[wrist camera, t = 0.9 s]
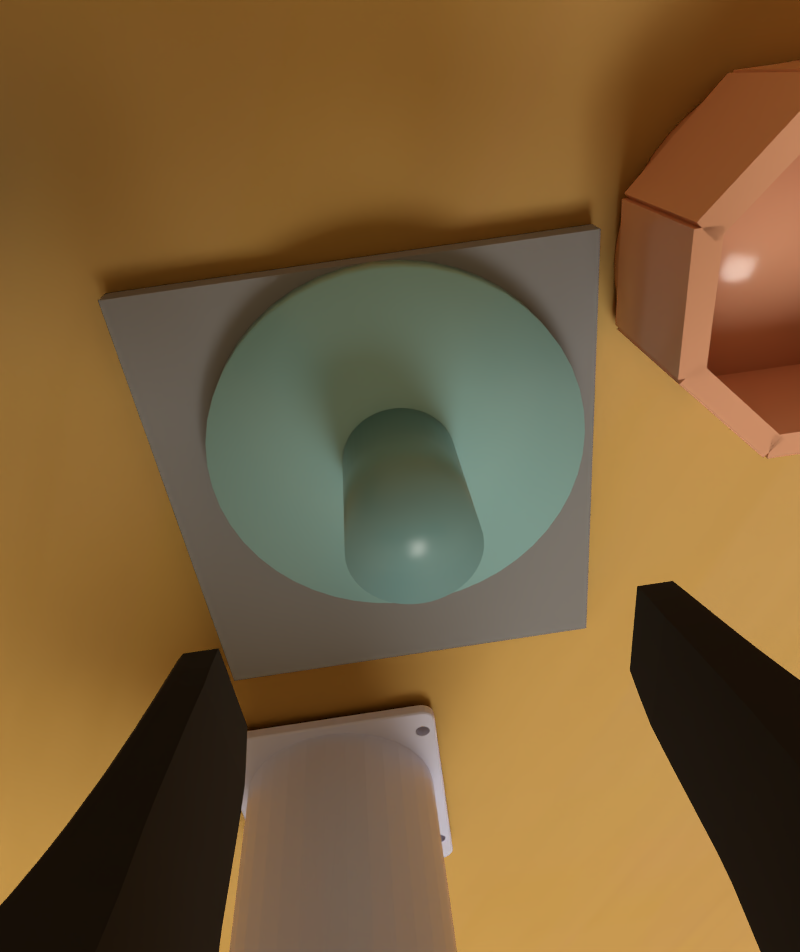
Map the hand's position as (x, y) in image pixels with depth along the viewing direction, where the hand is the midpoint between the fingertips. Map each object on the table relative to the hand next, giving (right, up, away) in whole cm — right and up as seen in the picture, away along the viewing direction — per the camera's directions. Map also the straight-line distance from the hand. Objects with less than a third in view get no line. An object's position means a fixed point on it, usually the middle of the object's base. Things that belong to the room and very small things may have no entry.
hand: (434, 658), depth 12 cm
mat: (-1, +3, +8) cm, 9 cm away
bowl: (+9, +9, +5) cm, 14 cm away
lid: (-1, +4, +7) cm, 8 cm away
